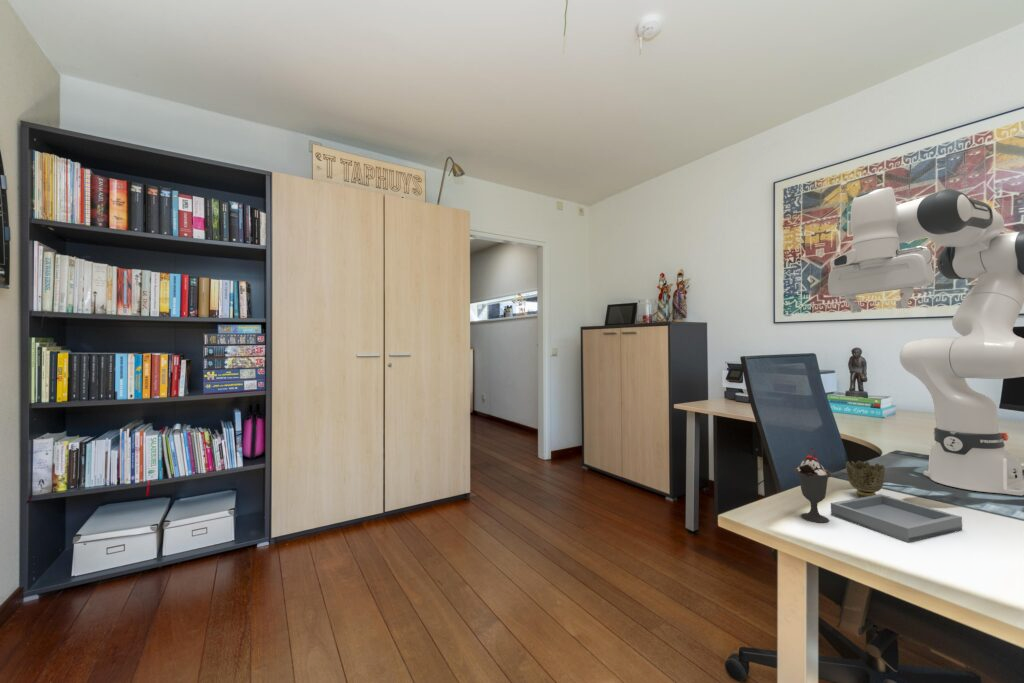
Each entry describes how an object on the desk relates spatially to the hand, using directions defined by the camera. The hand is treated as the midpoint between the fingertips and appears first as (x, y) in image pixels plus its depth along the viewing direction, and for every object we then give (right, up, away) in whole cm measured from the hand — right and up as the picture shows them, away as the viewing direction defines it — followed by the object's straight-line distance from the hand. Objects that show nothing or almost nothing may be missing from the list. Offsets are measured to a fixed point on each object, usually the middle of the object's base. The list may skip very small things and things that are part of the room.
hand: (878, 310), depth 100 cm
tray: (-10, -46, -14) cm, 49 cm away
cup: (-3, -46, 0) cm, 46 cm away
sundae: (-24, -46, -11) cm, 53 cm away
